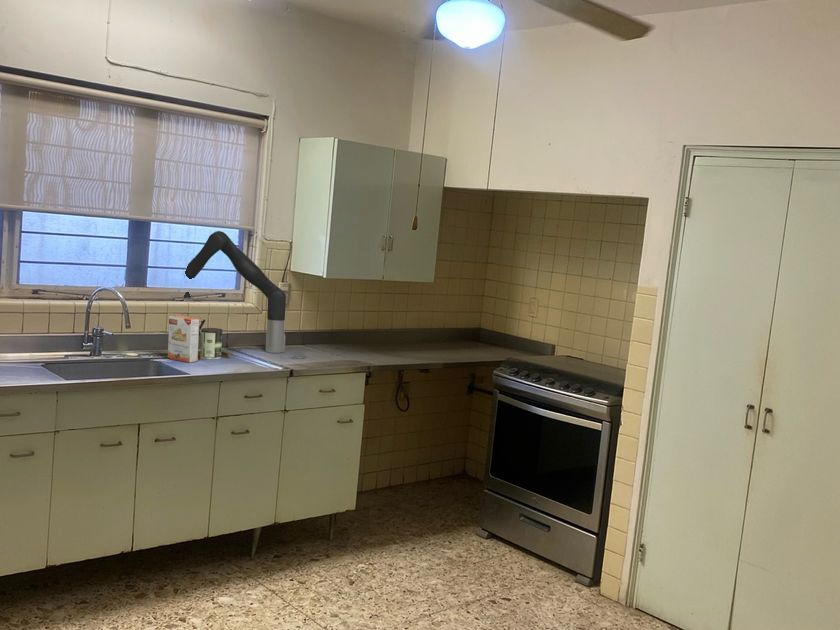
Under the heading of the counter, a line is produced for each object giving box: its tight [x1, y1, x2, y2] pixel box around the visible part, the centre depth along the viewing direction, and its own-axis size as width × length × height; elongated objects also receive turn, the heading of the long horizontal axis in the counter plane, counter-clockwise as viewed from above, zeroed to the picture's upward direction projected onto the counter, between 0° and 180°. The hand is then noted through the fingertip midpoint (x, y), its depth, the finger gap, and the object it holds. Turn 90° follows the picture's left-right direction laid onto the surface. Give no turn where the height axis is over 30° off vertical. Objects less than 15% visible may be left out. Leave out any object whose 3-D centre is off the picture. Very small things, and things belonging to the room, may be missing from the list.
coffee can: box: [199, 327, 224, 360], centre depth 388 cm, size 10×10×14 cm
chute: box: [198, 349, 231, 361], centre depth 389 cm, size 16×10×2 cm, turn 131°
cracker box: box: [167, 314, 200, 364], centre depth 375 cm, size 14×6×21 cm, turn 62°
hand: (198, 335), depth 399 cm, fingers closed
